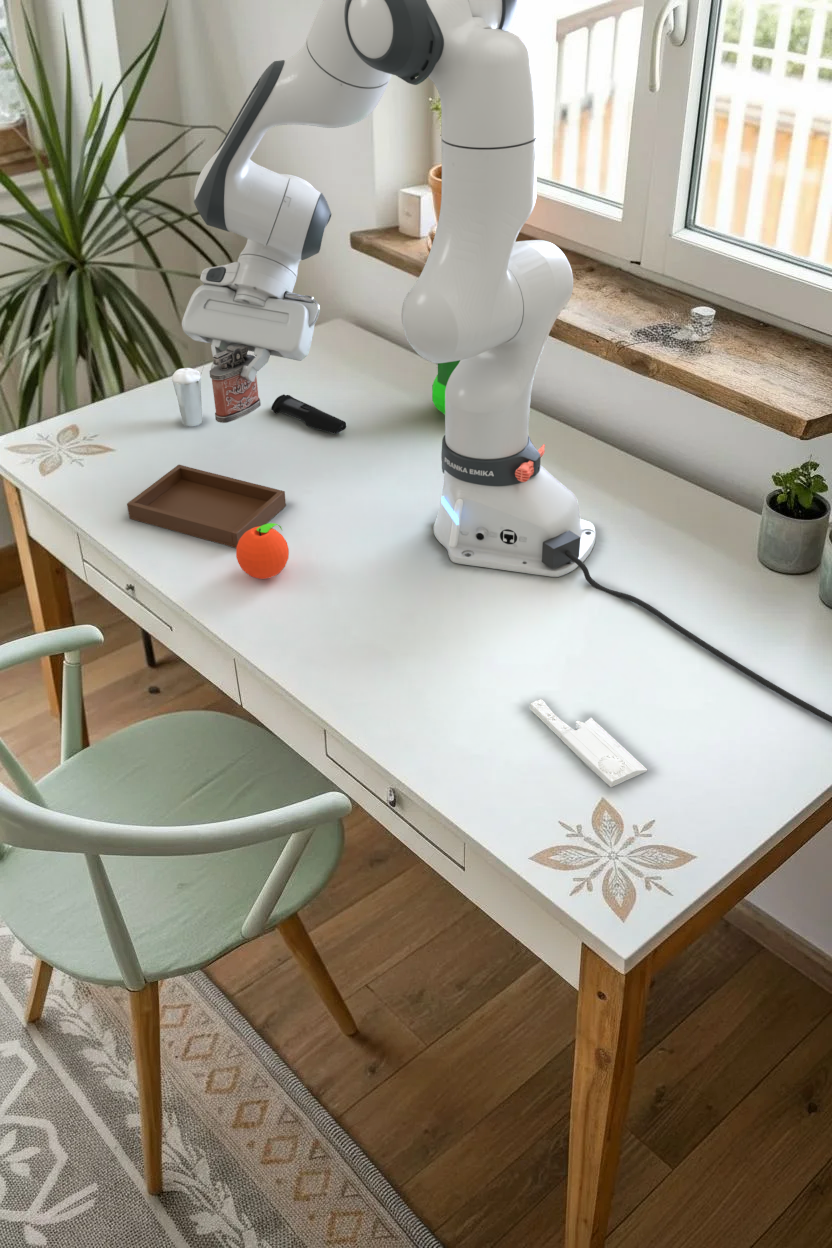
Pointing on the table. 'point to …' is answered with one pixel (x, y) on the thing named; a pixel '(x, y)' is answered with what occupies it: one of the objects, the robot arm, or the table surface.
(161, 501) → the tray
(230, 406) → the lighter
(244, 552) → the clementine
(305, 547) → the table surface
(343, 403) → the table surface
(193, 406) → the milkshake
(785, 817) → the table surface
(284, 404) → the electric trimmer
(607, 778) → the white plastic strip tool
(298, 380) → the table surface
